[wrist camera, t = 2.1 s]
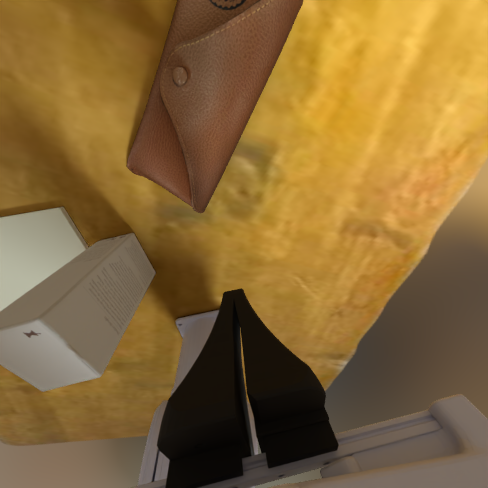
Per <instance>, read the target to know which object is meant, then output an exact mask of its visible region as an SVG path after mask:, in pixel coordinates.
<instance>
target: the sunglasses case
mask: <svg viewBox="0 0 488 488" xmlns="http://www.w3.org/2000/svg"><path fill="white" fill-rule="evenodd" d="M302 4H303V0H177V4H176V8H175V12H174V15H173V19H172V22H171V26H170V29H169V33H168V37H167V40H166V43H165V47H164V50H163V53H162V57H161V60H160V63H159V67H158V70H157V73H156V76H155V80H154V83H153V86H152V89H151V92H150V95H149V99H148V103H147V105H146V109H145V112H144V115H143V118H142V121H141V124H140V127H139V129H138V132H137V135H136V138H135V141H134V143H133V146H132V148H131V152H130V154H129V157H128V162H127V167H128V169H129V170H130V171H132V172H133V173H134V174H137V175H140V176H144V177H146V178H148V179H149V180H151V181H153V182H155V183H157V184H158V185H160V186H162V187H163V188H165V189H166V190H168V191H169V192H171V193H172V194H174V195H175V196H177V197H178V198H180V199H181V200H183V201H184V202H186V203H187V204H189V205H190V206H192V207H193V209H194V210H195V211H196V212H199V213H203V212H204V211H205V208H206V207H207V205H208V203H209V201H210V199H211V197H212V195H213V193H214V191H215V189H216V187H217V185H218V183H219V181H220V179H221V177H222V175H223V173H224V171H225V169H226V166H227V165H228V162H229V160H230V158H231V156H232V154H233V152H234V150H235V148H236V145H237V143H238V141H239V139H240V137H241V135H242V133H243V131H244V129H245V127H246V124H247V122H248V120H249V118H250V116H251V114H252V112H253V110H254V108H255V106H256V104H257V101H258V99H259V97H260V95H261V93H262V91H263V89H264V87H265V85H266V83H267V80H268V78H269V76H270V74H271V72H272V70H273V68H274V66H275V64H276V61H277V59H278V57H279V55H280V53H281V51H282V48H283V46H284V44H285V42H286V40H287V37H288V35H289V33H290V31H291V29H292V26H293V24H294V21H295V19H296V17H297V14H298V12H299V10H300V8H301V6H302Z"/></svg>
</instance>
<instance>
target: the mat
mask: <svg viewBox="0 0 488 488" xmlns="http://www.w3.org/2000/svg"><path fill="white" fill-rule="evenodd" d="M88 248H89V247H88V245H87V244H86V242H85V240H84V239H83V237H82V236H81V234H80V232H79V231H78V229H77V228H76V226H75V224H74V223H73V221H72V220H71V218H70V216H69V215H68V213H67V212H66V210H65V208H64V207H58V208H52V209H46V210H40V211H34V212H28V213H23V214H17V215H11V216H5V217H0V311H2V310H3V309H4V308H6V307H7V306H9V305H10V304H11V303H13V302H14V301H15V300H17V299H18V298H20V297H21V296H22V295H24V294H25V293H27V292H28V291H29V290H31V289H32V288H34V287H35V286H36V285H38V284H39V283H40V282H42V281H43V280H45V279H46V278H47V277H49V276H50V275H52V274H53V273H54V272H56V271H57V270H59V269H60V268H61V267H63V266H64V265H65V264H67V263H68V262H70V261H71V260H72V259H74V258H75V257H77V256H78V255H79V254H81V253H82V252H83V251H85V250H86V249H88Z"/></svg>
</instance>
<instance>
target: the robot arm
mask: <svg viewBox="0 0 488 488" xmlns="http://www.w3.org/2000/svg"><path fill="white" fill-rule="evenodd" d="M176 325H177V327H178V329H179V331H180V333H181V335H182V338H183V342H182V347H181V352H180V357H179V363H178V368H177V373H176V378H175V384H174V388H173V389H172V392H171V397H170V398H169V400H164V401H162V403H161V404H160V405H159V406H158V407H157V409H156V410H155V413H154V416H153V420H152V423H151V427H150V431H149V435H148V439H147V443H146V447H145V451H144V456H143V461H142V465H141V470H140V475H139V481H138V486H136V487H131V488H255V486H256V485H260V484H264V483H267V482H271V481H275V480H278V479H282V478H286V477H289V476H292V475H297V474H300V473H304V472H308V471H311V470H315V469H318V468H322V467H324V468H322V469H321V471H320V473H321V476H322V479H316V480H311V481H305V482H299V483H294V484H282V485H277V486H273V487H269V488H488V419H487V418H486V417H485V416H484V415H483V414H482V413H481V412H480V411H479V410H478V409H477V408H476V407H475V406H474V405H473V404H472V403H471V402H470V401H468V399H467V398H465V396H463V395H461V394H458V395H454V396H450V397H446V398H442V399H439V400H436V401H434V402H433V403H431V404H430V406H429V408H428V410H426V411H421V412H418V413H414V414H410V415H406V416H402V417H399V418H395V419H391V420H387V421H383V422H380V423H376V424H372V425H368V426H364V427H360V428H356V429H353V430H349V431H345V432H341V433H338V434H334V432H333V430H332V428H331V425H330V423H329V421H328V420H329V417H328V414H327V412H326V410H325V407H324V404H325V397H326V395H325V391H324V389H323V387H322V385H321V383H320V382H319V380H318V378H317V377H316V375H315V374H314V373H313V371H312V370H311V368H310V367H309V366H308V365H307V364H305V363H304V362H303V361H302V360H300V359H299V358H298V357H297V356H296V355H294V354H293V353H292V352H291V351H290V350H289V349H287V348H286V347H285V346H284V345H283V344H282V343H281V342H280V341H279V340H278V339H277V338H276V337H275V336H274V335H273V334H272V333H271V332H270V330H269V329H268V328H267V327H266V326H265V325H264V323H263V322H262V321H261V320H260V318H259V317H258V316H257V314H256V313H255V311H254V310H253V308H252V307H251V305H250V303H249V302H248V300H247V298H246V296H245V293H244V290H243V289H237V290H232V291H227V292H224V293H223V298H222V302H221V306H220V309H219V310H216V311H211V312H206V313H202V314H197V315H192V316H188V317H183V318H178V319H176ZM240 328H241V337H242V346H243V355H244V365H245V375H246V386H247V394H248V398H249V402H250V404H249V403H248V401H247V398H246V391H245V384H244V376H243V369H242V359H241V339H240ZM257 439H258V440H257ZM257 441H258V442H259V445H260V449H261V454H258V442H257Z"/></svg>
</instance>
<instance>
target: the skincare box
mask: <svg viewBox="0 0 488 488" xmlns="http://www.w3.org/2000/svg"><path fill="white" fill-rule="evenodd" d="M155 274H156V272H155V270H154V269H153V267H152V265H151V263H150V262H149V260H148V258H147V256H146V254H145V252H144V251H143V249H142V247H141V245H140V243H139V242H138V240H137V238H136V236H135V234H134V233H130V234H126V235H122V236H118V237H114V238H109V239H105V240H101V241H98V242H96V243H95V244H93V245H92V246H91V247H89V248H88V249H86V250H85V251H83V252H82V253H81V254H79V255H78V256H77V257H75V258H74V259H72V260H71V261H70V262H68V263H67V264H65V265H64V266H63V267H61V268H60V269H59V270H57V271H56V272H54V273H53V274H52V275H50V276H49V277H47V278H46V279H45V280H43V281H42V282H40V283H39V284H38V285H36V286H35V287H34V288H32V289H31V290H29V291H28V292H27V293H25V294H24V295H22V296H21V297H20V298H18V299H17V300H15V301H14V302H13V303H11V304H10V305H9V306H7V307H6V308H4V309H3V310H2V311H0V365H2V366H3V367H5V368H6V369H8V370H9V371H11V372H13V373H14V374H16V375H17V376H19V377H21V378H22V379H23V380H25V381H27V382H28V383H30V384H32V385H33V386H35V387H36V388H38V389H39V390H41V391H47V390H51V389H55V388H59V387H63V386H66V385H70V384H74V383H78V382H82V381H86V380H91V379H95V378H99V377H101V376H102V374H103V372H104V370H105V368H106V366H107V364H108V362H109V361H110V359H111V357H112V355H113V353H114V351H115V349H116V347H117V345H118V343H119V342H120V340H121V338H122V336H123V334H124V332H125V330H126V328H127V326H128V325H129V323H130V321H131V319H132V317H133V315H134V313H135V311H136V310H137V308H138V306H139V304H140V302H141V300H142V298H143V296H144V295H145V293H146V291H147V289H148V287H149V285H150V283H151V281H152V280H153V278H154V276H155Z"/></svg>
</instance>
